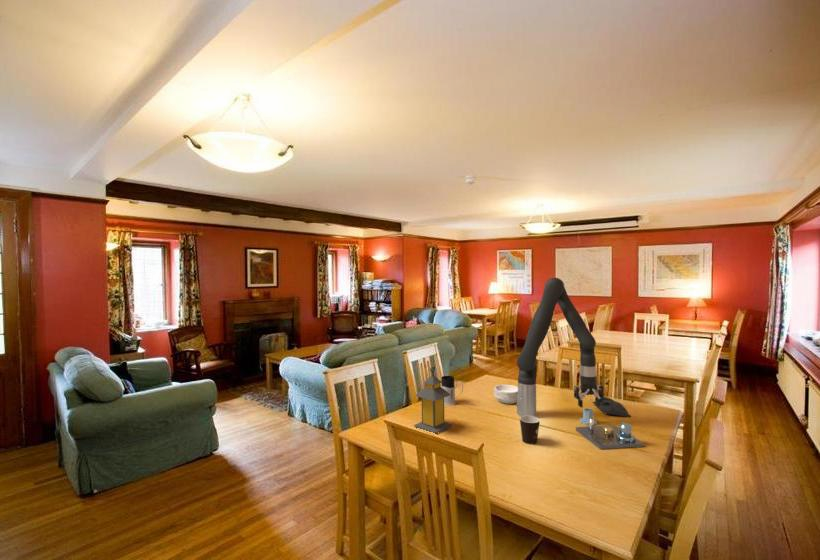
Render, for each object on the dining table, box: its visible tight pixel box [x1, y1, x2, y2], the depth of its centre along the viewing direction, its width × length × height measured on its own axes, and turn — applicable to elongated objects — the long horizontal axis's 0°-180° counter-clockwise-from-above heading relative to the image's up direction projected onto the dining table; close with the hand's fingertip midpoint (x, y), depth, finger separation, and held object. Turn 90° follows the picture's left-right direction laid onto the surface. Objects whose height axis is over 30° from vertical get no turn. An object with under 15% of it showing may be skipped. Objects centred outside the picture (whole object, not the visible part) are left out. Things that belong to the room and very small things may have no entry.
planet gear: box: [579, 407, 598, 426], centre depth 193 cm, size 8×8×7 cm
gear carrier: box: [575, 418, 645, 450], centre depth 175 cm, size 20×20×8 cm
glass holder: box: [440, 375, 464, 406], centre depth 223 cm, size 9×14×15 cm, turn 54°
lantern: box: [414, 366, 453, 435], centre depth 191 cm, size 14×14×30 cm
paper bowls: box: [493, 383, 518, 405], centre depth 226 cm, size 15×15×8 cm
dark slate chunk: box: [592, 396, 632, 418], centre depth 211 cm, size 15×22×5 cm
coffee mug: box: [519, 416, 541, 445], centre depth 174 cm, size 12×9×10 cm
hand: (589, 406), depth 193 cm, fingers open, 8 cm apart
